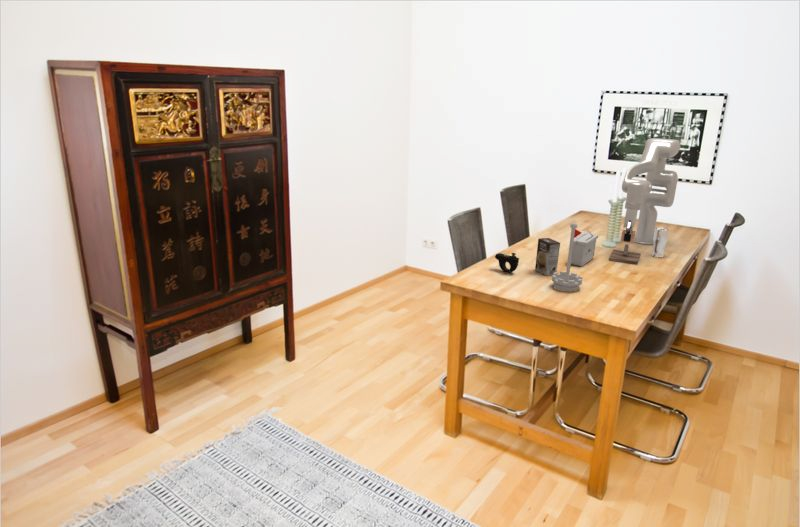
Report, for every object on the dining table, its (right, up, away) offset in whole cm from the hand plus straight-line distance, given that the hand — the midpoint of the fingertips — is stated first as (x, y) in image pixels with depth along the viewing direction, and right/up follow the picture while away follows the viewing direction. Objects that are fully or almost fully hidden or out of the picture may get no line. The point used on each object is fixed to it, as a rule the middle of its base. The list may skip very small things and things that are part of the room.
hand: (627, 239), depth 290 cm
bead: (0, -1, 0) cm, 1 cm away
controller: (-68, -17, -22) cm, 74 cm away
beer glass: (+20, -9, +9) cm, 23 cm away
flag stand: (-45, -23, -41) cm, 65 cm away
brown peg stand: (0, -10, +3) cm, 10 cm away
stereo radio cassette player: (-25, -12, -4) cm, 28 cm away
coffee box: (-49, -17, -22) cm, 56 cm away
